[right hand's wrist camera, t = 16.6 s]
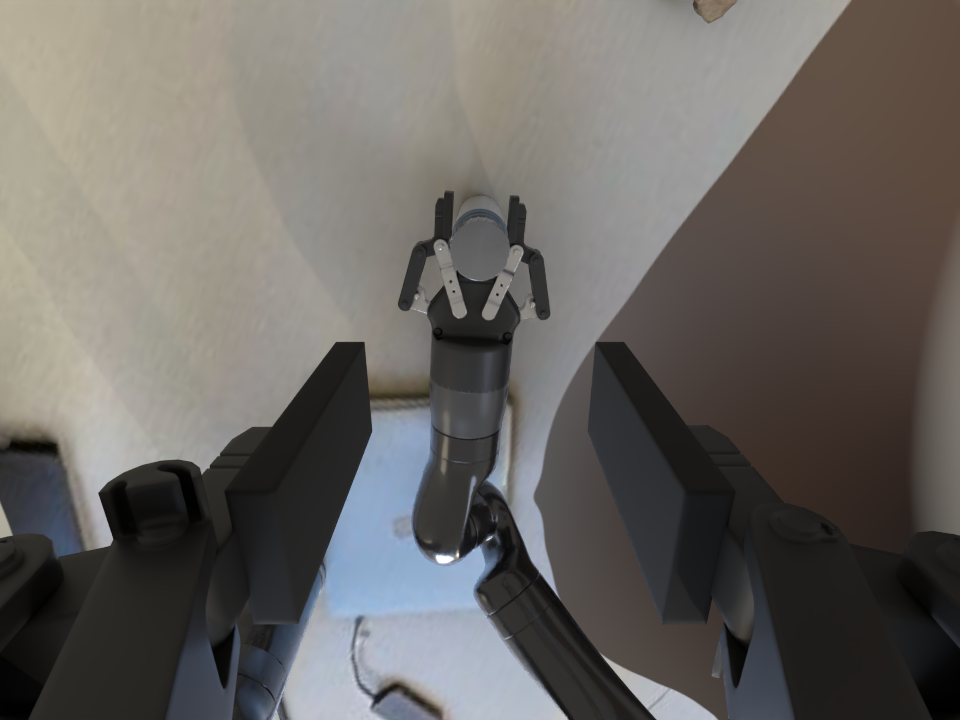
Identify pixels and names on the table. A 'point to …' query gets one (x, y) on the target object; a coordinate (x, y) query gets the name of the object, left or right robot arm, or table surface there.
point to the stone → (712, 8)
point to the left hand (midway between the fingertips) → (482, 194)
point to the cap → (480, 249)
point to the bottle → (479, 211)
